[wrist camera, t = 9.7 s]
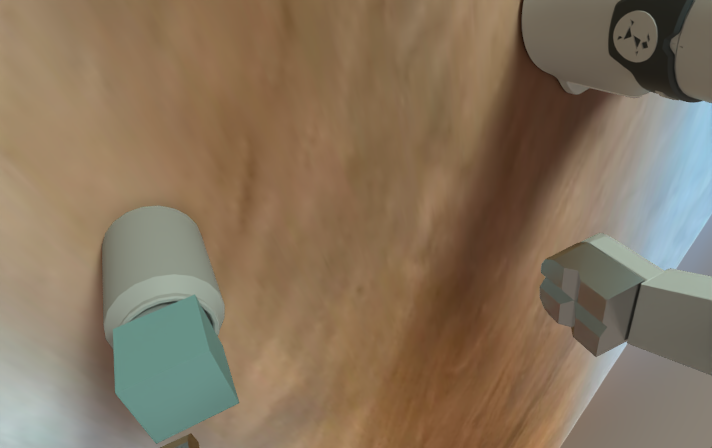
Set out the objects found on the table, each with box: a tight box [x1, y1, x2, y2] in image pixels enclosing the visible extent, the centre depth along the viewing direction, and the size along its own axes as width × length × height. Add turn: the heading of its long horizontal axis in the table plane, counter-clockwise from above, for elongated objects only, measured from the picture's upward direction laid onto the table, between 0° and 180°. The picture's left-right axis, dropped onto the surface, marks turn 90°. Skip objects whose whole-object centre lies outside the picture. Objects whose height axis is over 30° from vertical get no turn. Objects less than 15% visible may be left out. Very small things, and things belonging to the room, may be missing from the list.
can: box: [102, 206, 224, 350], centre depth 35 cm, size 8×8×12 cm
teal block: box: [113, 294, 239, 444], centre depth 29 cm, size 5×5×5 cm
